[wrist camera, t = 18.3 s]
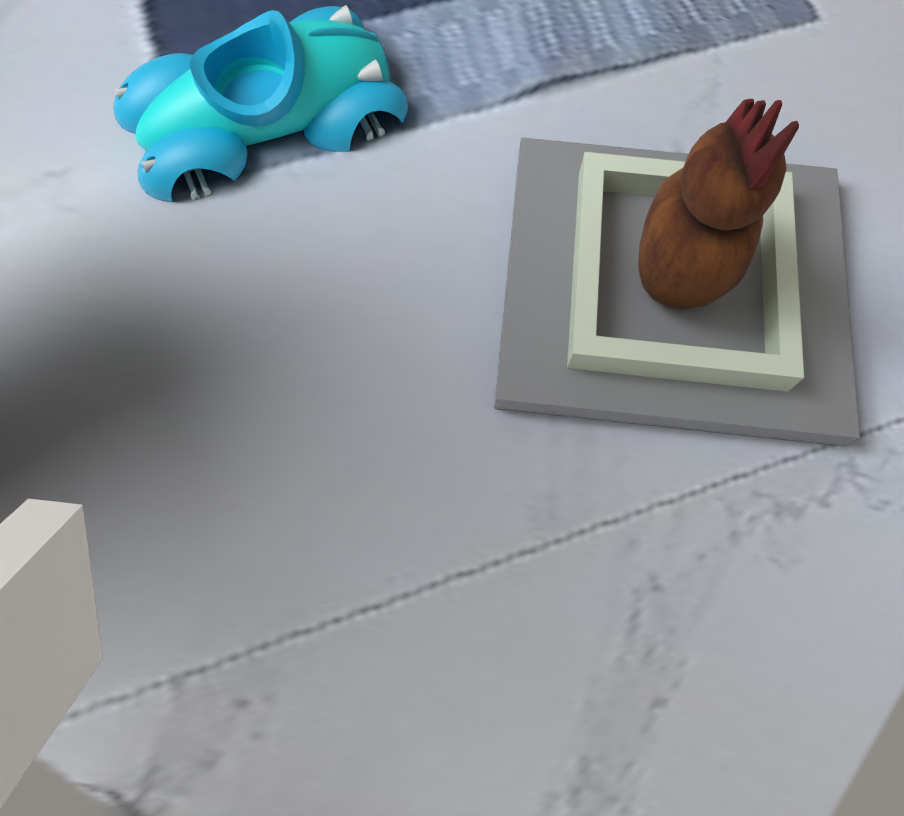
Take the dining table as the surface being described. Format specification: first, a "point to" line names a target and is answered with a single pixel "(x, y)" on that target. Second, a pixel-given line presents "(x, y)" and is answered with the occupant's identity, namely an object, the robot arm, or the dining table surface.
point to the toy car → (256, 95)
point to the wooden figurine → (714, 209)
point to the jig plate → (665, 328)
